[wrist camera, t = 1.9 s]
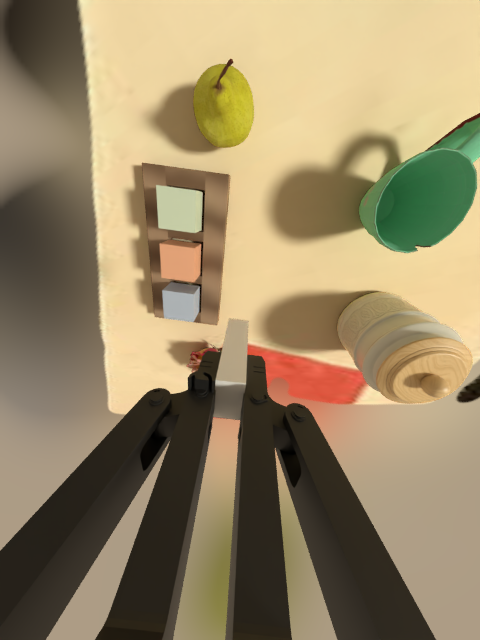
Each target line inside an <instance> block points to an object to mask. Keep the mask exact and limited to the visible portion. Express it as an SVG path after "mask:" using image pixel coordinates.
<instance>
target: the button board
mask: <svg viewBox="0 0 480 640" xmlns="http://www.w3.org/2000/svg"><path fill="white" fill-rule="evenodd" d="M142 171H143V183H144V195H145V207H146V219H147V231H148V242H149V254H150V266H151V278H152V290H153V302H154V314H155V317H159V318H164V310H163V294H162V290H163V289H164V288H165V287H166V286H167V285H169V284H170V283H171V282H174V281H181V280H174V279H166V278H162V277H161V260H160V243H162V242H165V241H167V240H172V238H178V239H185V240H193V241H200V242H203V265H202V273H200V276H199V277H198V278H197V279H196V281H195V282H189V283H196V284H202V294H201V308H199V313H198V315H197V317H196V318H195V320H194V322H196V323H203V324H211V325H217V324H218V321H219V310H220V298H221V286H222V273H223V261H224V249H225V237H226V225H227V212H228V200H229V188H230V175H228V174H220V173H213V172H206V171H199V170H191V169H184V168H177V167H170V166H162V165H155V164H148V163H142ZM156 185H160V186H167V187H171V186H174V187H182V188H189V189H196V190H203V191H205V208H204V231H202V230H201V231H199V232H196V233H190V232H183V231H176V230H168V229H161V228H159V227H158V210H157V193H156ZM182 282H188V281H182ZM173 320H174V319H173Z"/></svg>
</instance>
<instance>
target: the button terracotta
mask: <svg viewBox="0 0 480 640" xmlns="http://www.w3.org/2000/svg"><path fill="white" fill-rule="evenodd" d="M160 260H161V277H162V278H166V279H174V280H181V281H188V282H195V281H196V279H197V278H198V277H199V276H200V263H201V244H198V243H191V242H184V241H176V240H167V241H165V242H162V243H160Z"/></svg>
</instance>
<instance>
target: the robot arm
mask: <svg viewBox="0 0 480 640" xmlns="http://www.w3.org/2000/svg"><path fill="white" fill-rule="evenodd" d="M247 346H248V321H247V320H238V319H229V321H228V325H227V330H226V335H225V339H224V344H223V348H222V352H215V351H207V352H206V353H205V354H204V355H203V356H202V359H201V362H200V365H199V368H198V371H195V372H193V373H192V374H190V376H189V377H188V390H186V391H184V392H181V393H176V394H170V392H169V391H168V390H166V389H162V388H157V389H153V390H151V391H149V392H147V393H146V394H145V395H144V396H143V397H142V398H141V399H140V400H139V401H138V402H137V404H136V405H135V406H134V407H133V408H132V409H131V410H130V411H129V412H128V413H127V414H126V415H125V416H124V418H123V419H122V420H121V421H120V422H119V423H118V424H117V425H116V426H115V427H114V428H113V429H112V431H111V432H110V433H109V434H108V435H107V436H106V437H105V438H104V439H103V440H102V441H101V443H100V444H99V445H98V446H97V447H96V448H95V449H94V450H93V451H92V452H91V453H90V455H89V456H88V457H87V458H86V459H85V460H84V461H83V462H82V463H81V464H80V465H79V466H78V467H77V468H76V470H75V471H74V472H73V473H72V474H71V475H70V476H69V477H68V478H67V479H66V480H65V481H64V483H63V484H62V485H61V486H60V487H59V488H58V489H57V490H56V491H55V492H54V493H53V494H52V496H51V497H50V498H49V499H48V500H47V501H46V502H45V503H44V504H43V505H42V506H41V507H40V508H39V510H38V511H37V512H36V513H35V514H34V515H33V516H32V517H31V518H30V519H29V520H28V522H27V523H26V524H25V525H24V526H23V527H22V528H21V529H20V530H19V531H18V532H17V533H16V534H15V536H14V537H13V538H12V539H11V540H10V541H9V542H8V543H7V544H6V545H5V547H3V549H2V550H1V551H0V640H46V638H47V637H48V635H49V634H50V632H51V630H52V629H53V627H54V626H55V624H56V622H57V621H58V619H59V618H60V616H61V614H62V613H63V611H64V610H65V608H66V606H67V605H68V603H69V602H70V600H71V598H72V597H73V595H74V594H75V592H76V590H77V589H78V587H79V585H80V583H81V582H82V580H83V579H84V578H85V576H86V574H87V573H88V571H89V569H90V568H91V566H92V564H93V563H94V561H95V560H96V558H97V557H98V555H99V553H100V552H101V550H102V549H103V547H104V545H105V544H106V542H107V541H108V539H109V537H110V536H111V534H112V533H113V531H114V529H115V528H116V526H117V524H118V523H119V521H120V520H121V518H122V517H123V515H124V513H125V512H126V510H127V508H128V507H129V505H130V504H131V502H132V500H133V499H134V497H135V496H136V494H137V492H138V491H139V489H140V488H141V486H142V484H143V483H144V481H145V480H146V478H147V476H148V475H149V473H150V472H151V470H152V468H153V467H154V465H155V464H156V462H157V460H158V459H159V457H160V456H161V454H162V452H163V451H164V449H165V448H166V446H167V444H168V443H169V441H170V443H169V446H168V449H167V451H166V454H165V457H164V460H163V463H162V466H161V468H160V471H159V474H158V477H157V480H156V483H155V485H154V488H153V491H152V494H151V497H150V500H149V502H148V505H147V508H146V511H145V514H144V517H143V519H142V522H141V525H140V528H139V531H138V534H137V537H136V539H135V542H134V545H133V548H132V551H131V553H130V556H129V559H128V562H127V565H126V568H125V571H124V574H123V576H122V579H121V582H120V585H119V588H118V590H117V593H116V596H115V599H114V601H113V604H112V607H111V610H110V612H109V615H108V618H107V620H106V622H105V624H104V626H103V628H102V629H101V631H100V632H99V634H98V636H97V637H96V639H95V640H173V636H174V630H175V624H176V619H177V614H178V608H179V603H180V597H181V592H182V587H183V581H184V576H185V570H186V564H187V559H188V554H189V548H190V543H191V538H192V532H193V527H194V522H195V516H196V510H197V505H198V500H199V494H200V489H201V483H202V478H203V473H204V467H205V462H206V456H207V451H208V446H209V439H210V435H211V429H212V420H213V417H217V418H226V419H235V420H240V428H239V434H238V454H237V470H236V486H235V500H234V515H233V516H234V517H233V532H232V547H231V562H230V563H231V564H230V577H229V592H228V593H229V594H228V608H227V624H226V639H225V640H292V637H291V628H290V617H289V605H288V595H287V583H286V572H285V561H284V550H283V538H282V526H281V515H280V504H279V494H278V493H279V492H278V482H277V470H276V458H275V448H276V452H277V455H278V458H279V461H280V464H281V467H282V470H283V473H284V476H285V479H286V482H287V486H288V488H289V492H290V495H291V498H292V501H293V504H294V507H295V510H296V513H297V516H298V519H299V522H300V525H301V529H302V532H303V535H304V538H305V541H306V544H307V547H308V550H309V553H310V556H311V559H312V562H313V566H314V569H315V572H316V575H317V578H318V581H319V584H320V587H321V590H322V593H323V596H324V600H325V603H326V606H327V609H328V612H329V615H330V618H331V621H332V624H333V627H334V630H335V633H336V636H337V639H338V640H436V639H435V637H434V635H433V633H432V632H431V630H430V628H429V626H428V624H427V622H426V621H425V619H424V617H423V615H422V613H421V612H420V610H419V608H418V606H417V604H416V602H415V601H414V599H413V597H412V595H411V593H410V592H409V590H408V588H407V586H406V584H405V582H404V581H403V579H402V577H401V575H400V573H399V572H398V570H397V568H396V566H395V564H394V562H393V561H392V559H391V557H390V555H389V553H388V552H387V550H386V548H385V546H384V544H383V542H382V541H381V539H380V537H379V535H378V534H377V532H376V530H375V528H374V526H373V524H372V523H371V521H370V519H369V517H368V515H367V513H366V512H365V510H364V508H363V506H362V505H361V502H360V501H359V499H358V497H357V495H356V493H355V492H354V490H353V488H352V486H351V484H350V482H349V481H348V479H347V477H346V475H345V473H344V472H343V470H342V468H341V466H340V464H339V463H338V461H337V459H336V457H335V455H334V453H333V452H332V450H331V448H330V446H329V445H328V442H327V441H326V439H325V437H324V435H323V433H322V432H321V430H320V428H319V426H318V424H317V423H316V421H315V419H314V417H313V415H312V413H311V412H310V411H309V409H307V408H306V407H305V406H303V405H300V404H297V403H292V404H289V405H288V406H287V407H285V406H283V405H280V404H278V403H276V402H274V401H273V400H272V399H271V398H270V397H269V395H268V392H267V381H266V369H265V361H264V360H263V358H262V357H261V356H254V355H247Z"/></svg>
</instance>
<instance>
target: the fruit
mask: <svg viewBox="0 0 480 640" xmlns="http://www.w3.org/2000/svg"><path fill="white" fill-rule="evenodd" d="M232 63H233V60H232V59H230V60H229V61H228V63H227V64H218V65H215V66H212V67H210V68H208V69H207V70H206V71H205V72H204V73H203V74H202V75H201V77H200V78H199V80H198V82H197V84H196V87H195V90H194V97H193V106H194V113H195V117H196V121H197V124H198V127H199V129H200V131H201V133H202V134H203V135H204V136H205V138H206V139H207V140H208V141H209V142H210V143H212V144H213V145H214V146H217V147H222V148H226V147H233V146H236V145H239V144H240V143H242V142H243V141H244V140H245V139H246V138H247V137H248V134H249V132H250V130H251V126H252V123H253V118H254V106H253V97H252V93H251V90H250V87H249V84H248V82H247V80H246V79H245V77H244V76H243V74H242V73H241V72H240V71H238V70H237V69H236V68H234V67H233V66H230V65H231V64H232Z"/></svg>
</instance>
